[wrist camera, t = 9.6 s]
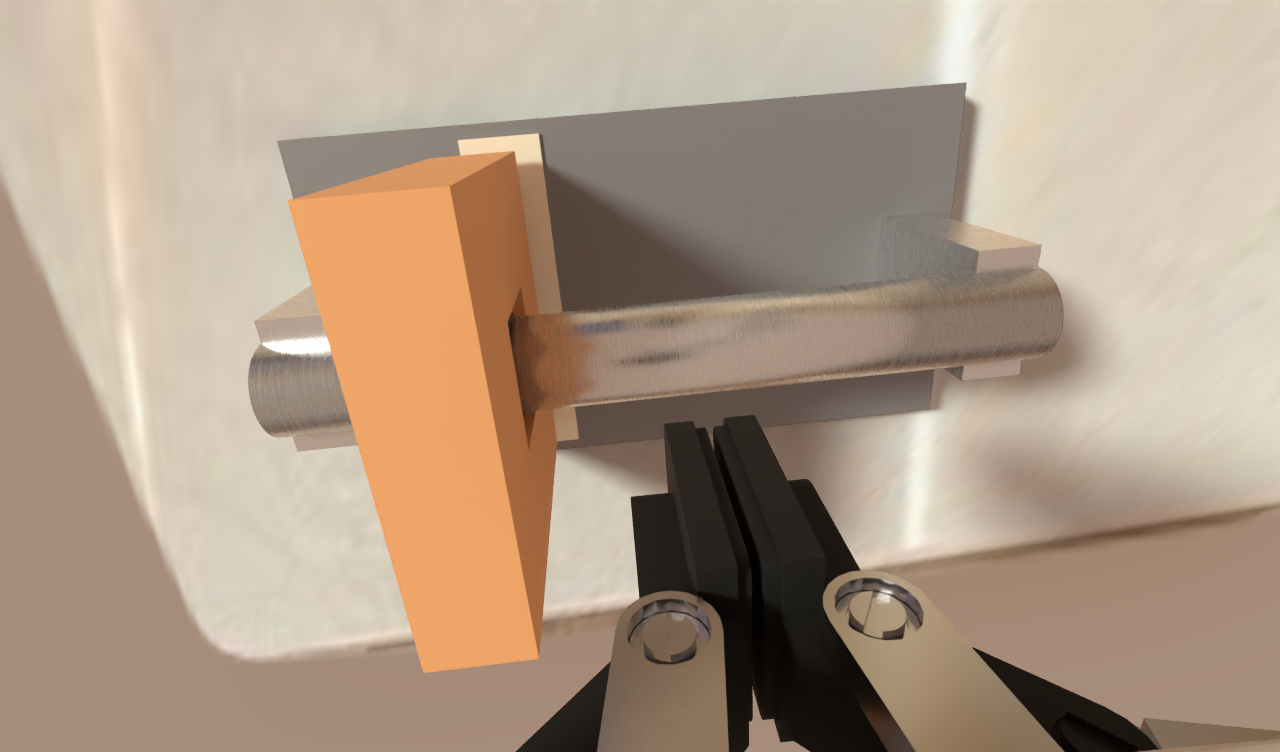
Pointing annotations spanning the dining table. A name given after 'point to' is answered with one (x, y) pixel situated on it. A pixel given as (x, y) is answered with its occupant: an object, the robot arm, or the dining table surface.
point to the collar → (441, 393)
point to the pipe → (725, 334)
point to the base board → (700, 219)
